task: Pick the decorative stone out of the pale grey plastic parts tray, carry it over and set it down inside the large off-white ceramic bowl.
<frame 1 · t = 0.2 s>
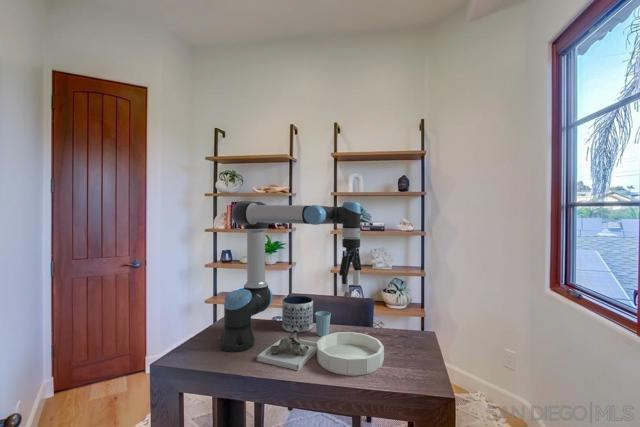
hand: (350, 288, 132), 28 cm above the table, fingers open, 13 cm apart
cup: (322, 335, 152), on the table
planter: (297, 327, 162), on the table
bowl: (349, 359, 126), on the table
decorative stone: (290, 353, 130), resting on tray
tray: (290, 353, 130), on the table
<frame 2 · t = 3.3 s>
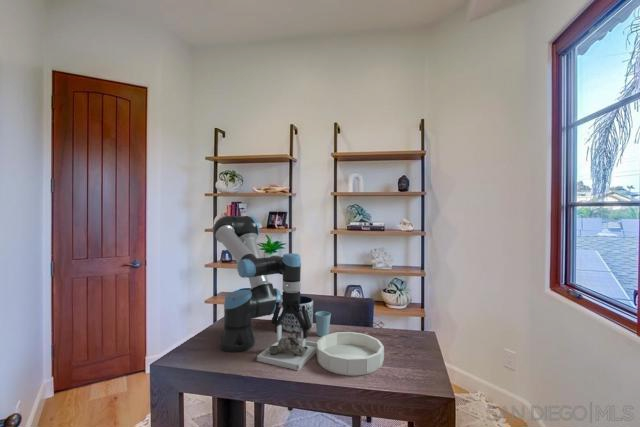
hand: (290, 343, 130), 4 cm above the table, fingers closed on decorative stone, 11 cm apart
decorative stone: (289, 353, 130), resting on tray, touching gripper
everything else where it was.
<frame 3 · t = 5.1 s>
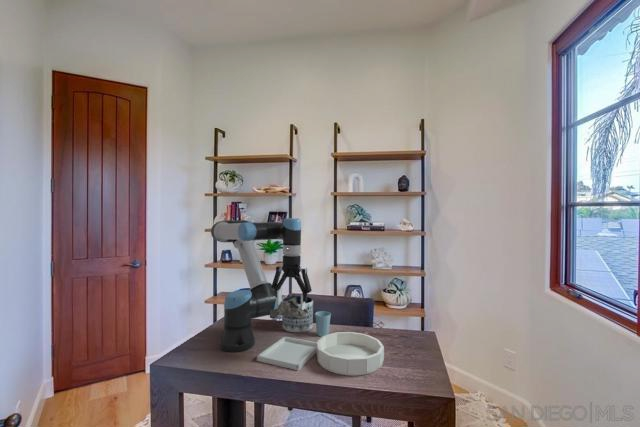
hand: (290, 307, 131), 20 cm above the table, fingers closed on decorative stone, 11 cm apart
decorative stone: (289, 317, 130), point 15 cm above the table, touching gripper
everything else where it was.
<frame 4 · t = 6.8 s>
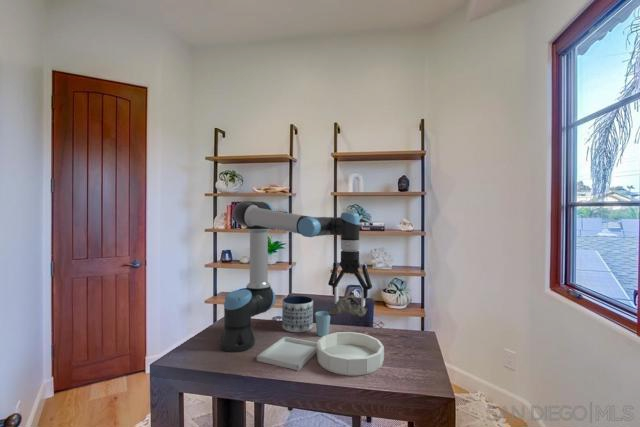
hand: (349, 304, 126), 22 cm above the table, fingers closed on decorative stone, 11 cm apart
decorative stone: (348, 315, 126), point 18 cm above the table, touching gripper
everything else where it was.
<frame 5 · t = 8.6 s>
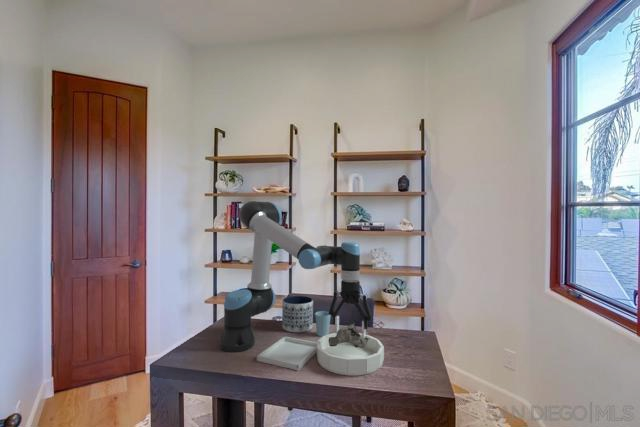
hand: (350, 334, 126), 10 cm above the table, fingers closed on decorative stone, 11 cm apart
decorative stone: (348, 345, 126), point 6 cm above the table, touching gripper
everything else where it was.
when the fingers open (6 cm above the table, at t = 9.8 s): decorative stone drops 1 cm, resting on bowl.
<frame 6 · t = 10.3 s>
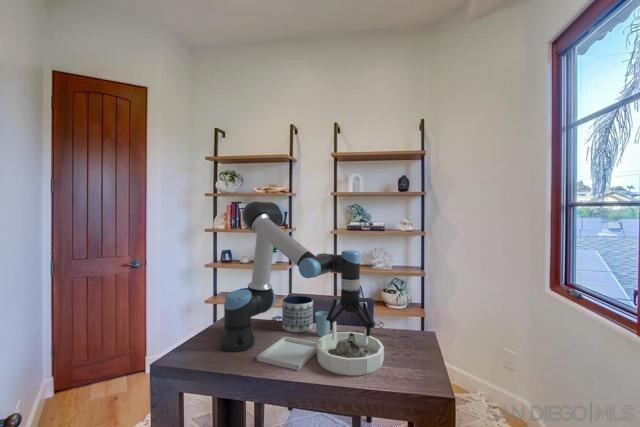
hand: (349, 341, 126), 7 cm above the table, fingers open, 13 cm apart
decorative stone: (347, 357, 126), point 1 cm above the table, touching bowl
everything else where it was.
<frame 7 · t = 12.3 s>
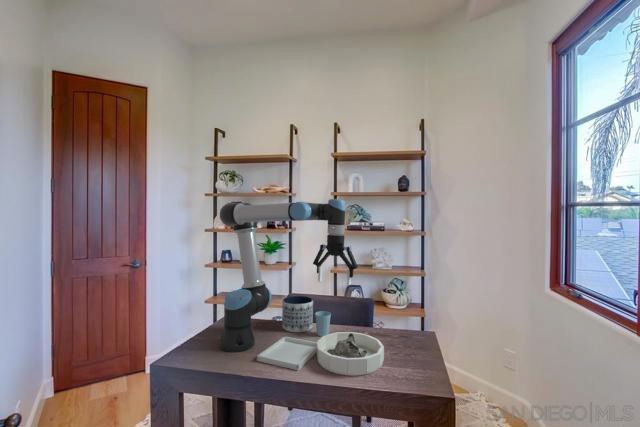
hand: (334, 283, 136), 29 cm above the table, fingers open, 13 cm apart
nothing on the table moved.
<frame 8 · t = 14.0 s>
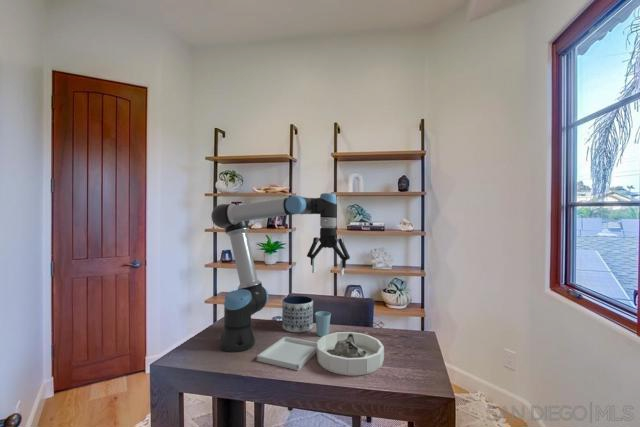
hand: (327, 274, 141), 32 cm above the table, fingers open, 13 cm apart
nothing on the table moved.
at the end: decorative stone inside the target area on the bowl (1.7 cm from its centre), point 0.8 cm above the bowl's base; the gripper is holding nothing; decorative stone touching bowl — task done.
